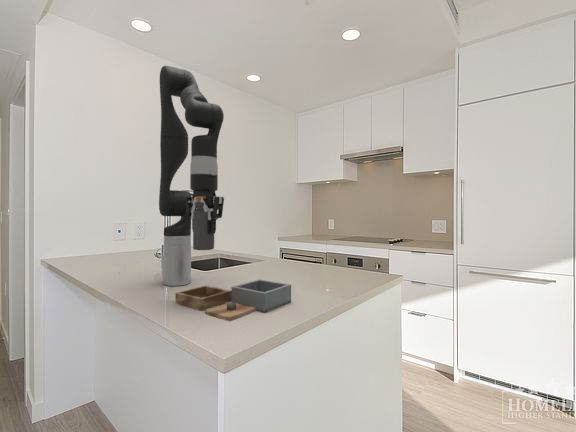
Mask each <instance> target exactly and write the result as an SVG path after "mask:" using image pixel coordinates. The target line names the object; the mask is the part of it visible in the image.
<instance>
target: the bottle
mask: <svg viewBox="0 0 576 432" xmlns="http://www.w3.org/2000/svg"><path fill="white" fill-rule="evenodd" d="M195 197H196V201H197V202H196V203H195V206H196V207H197V210H195V211H194V212H193V230H192V248H193V250H194V251H195V250H196V251H211V250H214V249H215V233H214V234H208V221H209V220H208V217H207V213H205V212H204V208H203V206H204V203H201V198H202V197H203V198H206V196H195ZM211 215H213V213H212V212H211Z"/></svg>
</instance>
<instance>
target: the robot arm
mask: <svg viewBox="0 0 576 432" xmlns="http://www.w3.org/2000/svg"><path fill="white" fill-rule="evenodd" d="M198 85H199V84H198V83H197V81H196V79H195V76H194V75H193V73H192V72H190V71H189V70H187V69H182V68H179V67H175V66H172V65H171V66H170V65H163V66H162V67H161V68H160V72H159V95H160V96H159V97H160V135H159V136H160V178H159V179H160V180H159V196H158V197H159V199H158V207H159V208H158V210H159V214H160V215H161V216H162V217H180V219H179V220H178V221H177V222H175V223H173V224H171V225H168V226H165V227H163V256H162V259H161V261H162V262H161V263H162V266H161V267H162V271H161V272H162V283H163V285H164V286H169V287H176V286H186V285H188V284H191V282H192V239H191V238H192V231H193V212H194V211H195V210H197V207H196V206H195V203H196V202H197V201H196V197H195V196H206V198H203V197H202V198H201V203H204V206H203V208H204V212H205V213H207V217H208V220H209V221H208V234H214V235H215V234H216V231H217V220H219V219H221V218H223V210H224V203H225V201H224V200H225V198H224V196H217V194H216V191H218V184H219V183H218V178H219V177H218V175H219V174H218V172H219V170H218V169H219V167H218V166H219V165H218V141H219V137H220V136H219V135H220V132H221V129H222V126H223V122H224V118H225V115H224V110H223V108H222V107H221V106H220V105H219V104H215V103H211V102H209V101H208V99H207V98H206V96H204V95H203V93H202V92H201V91H200V89H199V86H198ZM172 97H178V98H179V101H180V103H181V105H182V107H183V109H184V117H185V119H184V120H185V121H186V123H187V124H189V125H190V126H191V127H195V128H201V129H208V132H207V134H200V135H194V136H193V137H192V139H191V142H190V144H191V145H190V146H191V155H190V156H191V157H190V165H189V166H190V168H189V169H190V170H189V171H190V176H189V177H190V183H189V189H190V190H191V191H192V192H193V193H192V194H191V192H190V191H189V190H172V189H171V186H172V185H171V184H172V181H173V179H174V177H175V175H176V173H177V172H178V170H179V169H180V167H181V166H182V164H183V163H184V162H185V160H186V159H187V157H188V154H189V134H188V131H187V129H186V126H185V125H184V124H183V122H182V120H181V119H180V117H179V115H178V113H177V112H176V109H175V106H174V103H173V98H172ZM211 212H212V213H213V215H211Z"/></svg>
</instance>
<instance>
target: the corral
mask: <svg viewBox="0 0 576 432" xmlns="http://www.w3.org/2000/svg"><path fill="white" fill-rule="evenodd" d="M174 297H175V298H174V299H175V304H176V305H179V306H183V307H186V308H190V309H193V310H196V311H201V312H202V311H205V310H208V309H211V308H214V307H217V306H220V305H223V304H226V303H230V302H231V290H229V289H224V288H218V287H215V286H210V285H202V286H199V287H194V288H191V289H187V290H186V289H185V290H182V291H178V292H175V296H174Z"/></svg>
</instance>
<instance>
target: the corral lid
mask: <svg viewBox="0 0 576 432" xmlns="http://www.w3.org/2000/svg"><path fill="white" fill-rule="evenodd" d="M255 312H257V311H256V308H255V307H251V306H247V305H243V304H238V303H234V302H231V301H230V302H227V303H224V304H221V305H218V306H215V307H212V308H209V309H206V310H204V314H205V315H208V316H211V317H215V318H218V319H222V320H225V321H229V322H231V321H233V320H236V319H238V318H239V319H240V317H244V316H246V315H249V314H251V313H255Z"/></svg>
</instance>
